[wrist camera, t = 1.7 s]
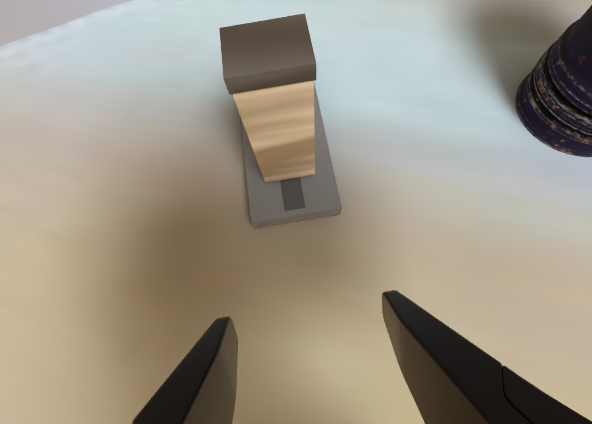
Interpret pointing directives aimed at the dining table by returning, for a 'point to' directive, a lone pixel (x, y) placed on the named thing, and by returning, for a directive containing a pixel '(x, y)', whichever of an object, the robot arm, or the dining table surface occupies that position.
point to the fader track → (292, 186)
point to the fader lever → (274, 92)
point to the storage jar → (561, 92)
